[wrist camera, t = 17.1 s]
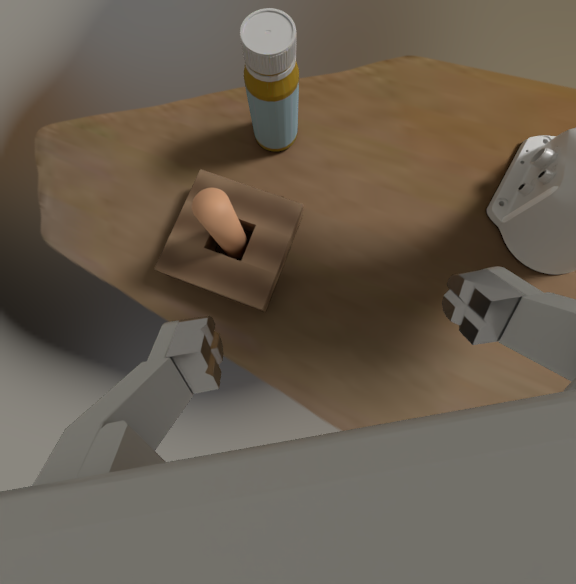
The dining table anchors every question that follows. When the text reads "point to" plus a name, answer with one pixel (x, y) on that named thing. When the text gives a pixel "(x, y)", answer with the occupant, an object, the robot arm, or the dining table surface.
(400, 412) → the dining table surface
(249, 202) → the socket block
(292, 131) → the bottle
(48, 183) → the dining table surface
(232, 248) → the peg
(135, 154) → the dining table surface
